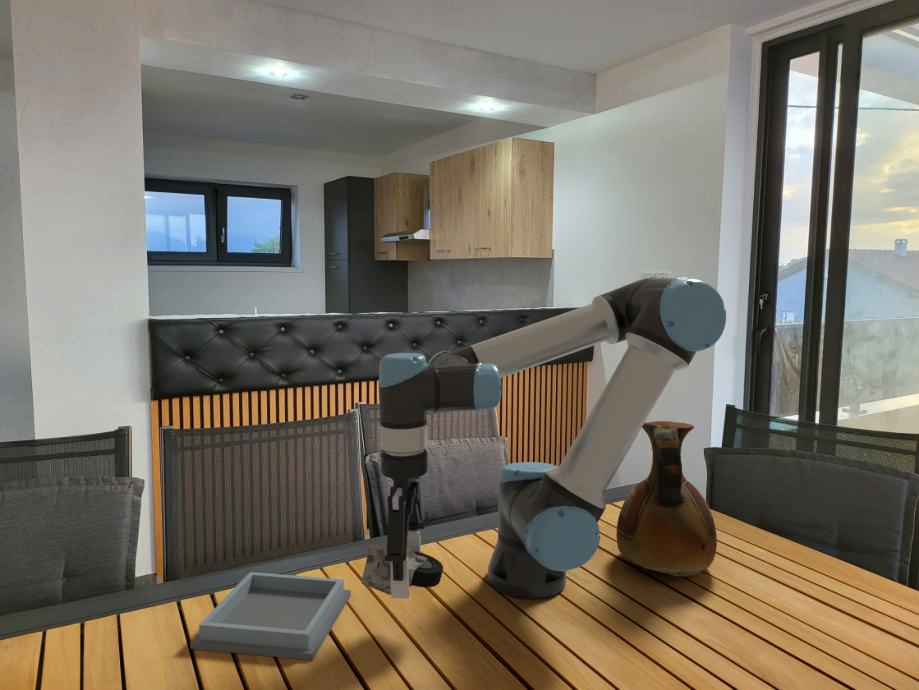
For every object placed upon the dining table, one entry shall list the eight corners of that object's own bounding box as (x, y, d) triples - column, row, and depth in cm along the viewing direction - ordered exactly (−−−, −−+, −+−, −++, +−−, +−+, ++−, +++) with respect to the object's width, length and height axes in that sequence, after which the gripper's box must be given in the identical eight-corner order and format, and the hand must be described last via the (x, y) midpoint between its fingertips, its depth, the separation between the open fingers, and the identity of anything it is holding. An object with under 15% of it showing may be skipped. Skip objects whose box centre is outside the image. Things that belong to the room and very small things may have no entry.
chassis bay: (350, 595, 118) (350, 577, 118) (312, 660, 98) (312, 638, 98) (247, 586, 121) (247, 569, 120) (190, 648, 101) (189, 627, 101)
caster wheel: (443, 588, 109) (423, 609, 99) (384, 565, 112) (359, 584, 103) (452, 550, 109) (433, 568, 99) (393, 529, 112) (368, 544, 102)
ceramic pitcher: (704, 548, 141) (712, 414, 137) (725, 593, 121) (735, 439, 117) (612, 540, 144) (618, 409, 140) (618, 583, 124) (625, 432, 121)
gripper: (396, 431, 114) (399, 550, 117) (362, 470, 93) (366, 616, 96) (437, 432, 114) (439, 552, 116) (413, 472, 92) (416, 619, 95)
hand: (406, 581), depth 106 cm, fingers closed on caster wheel, 9 cm apart
